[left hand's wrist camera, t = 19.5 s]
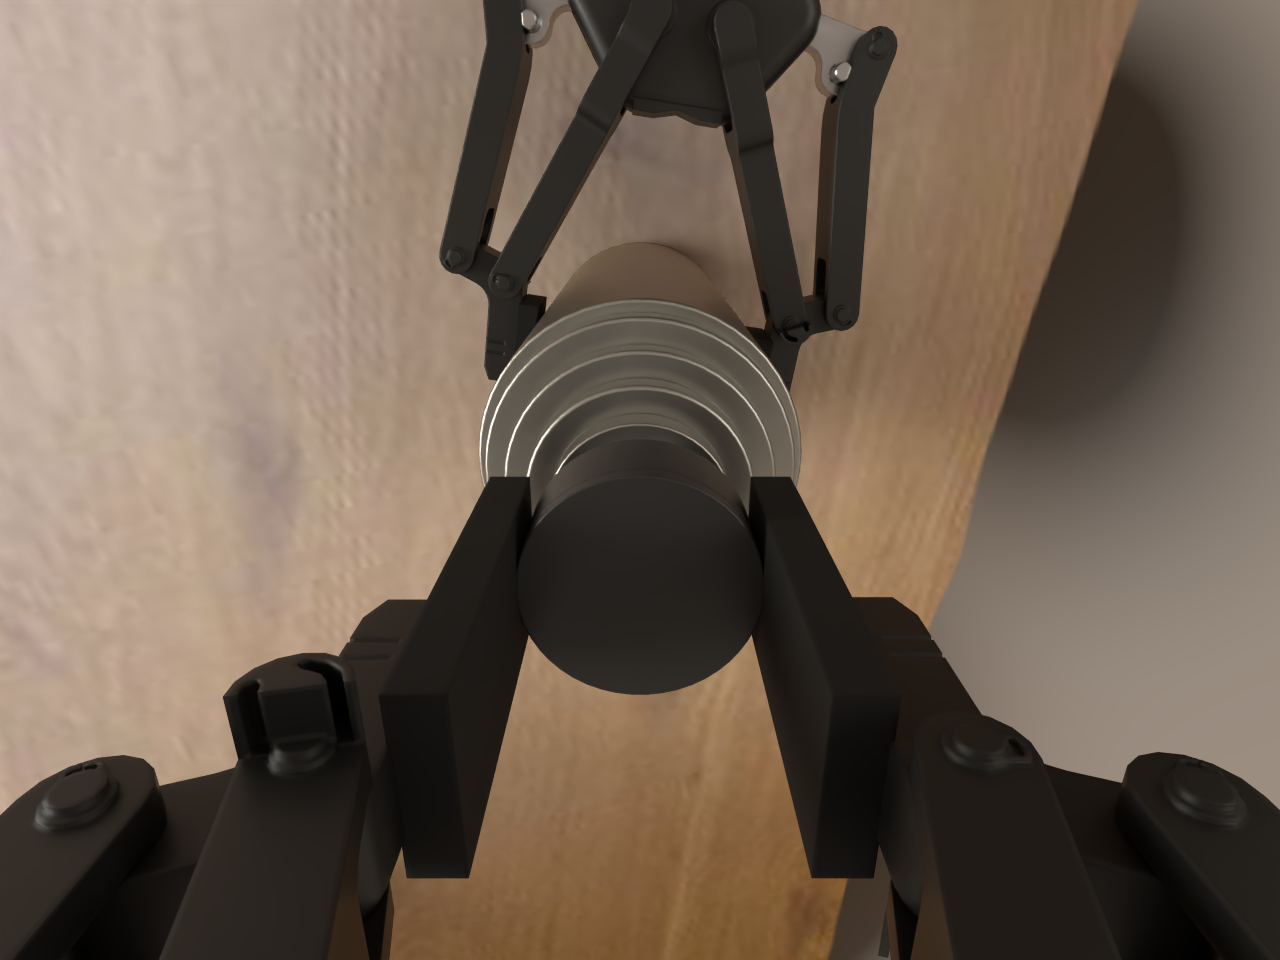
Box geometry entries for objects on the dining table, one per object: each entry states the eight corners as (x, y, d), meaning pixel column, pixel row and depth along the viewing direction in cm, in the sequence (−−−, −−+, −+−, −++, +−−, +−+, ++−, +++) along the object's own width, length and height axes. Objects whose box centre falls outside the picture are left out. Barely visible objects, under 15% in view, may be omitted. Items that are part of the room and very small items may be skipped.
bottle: (696, 217, 33) (804, 279, 11) (745, 383, 36) (910, 693, 14) (528, 277, 34) (330, 442, 12) (589, 434, 37) (516, 800, 15)
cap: (505, 600, 15) (486, 657, 13) (567, 407, 14) (556, 441, 12) (703, 659, 16) (711, 722, 14) (784, 478, 14) (805, 522, 12)
